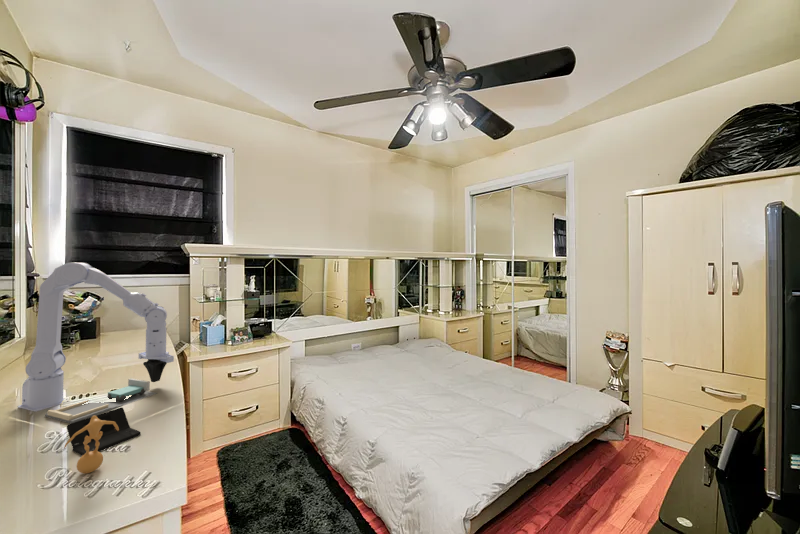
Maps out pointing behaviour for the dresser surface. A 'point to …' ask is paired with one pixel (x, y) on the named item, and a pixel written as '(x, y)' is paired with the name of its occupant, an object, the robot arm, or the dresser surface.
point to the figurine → (93, 458)
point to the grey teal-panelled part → (130, 389)
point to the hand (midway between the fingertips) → (155, 381)
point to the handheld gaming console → (109, 432)
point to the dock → (90, 408)
